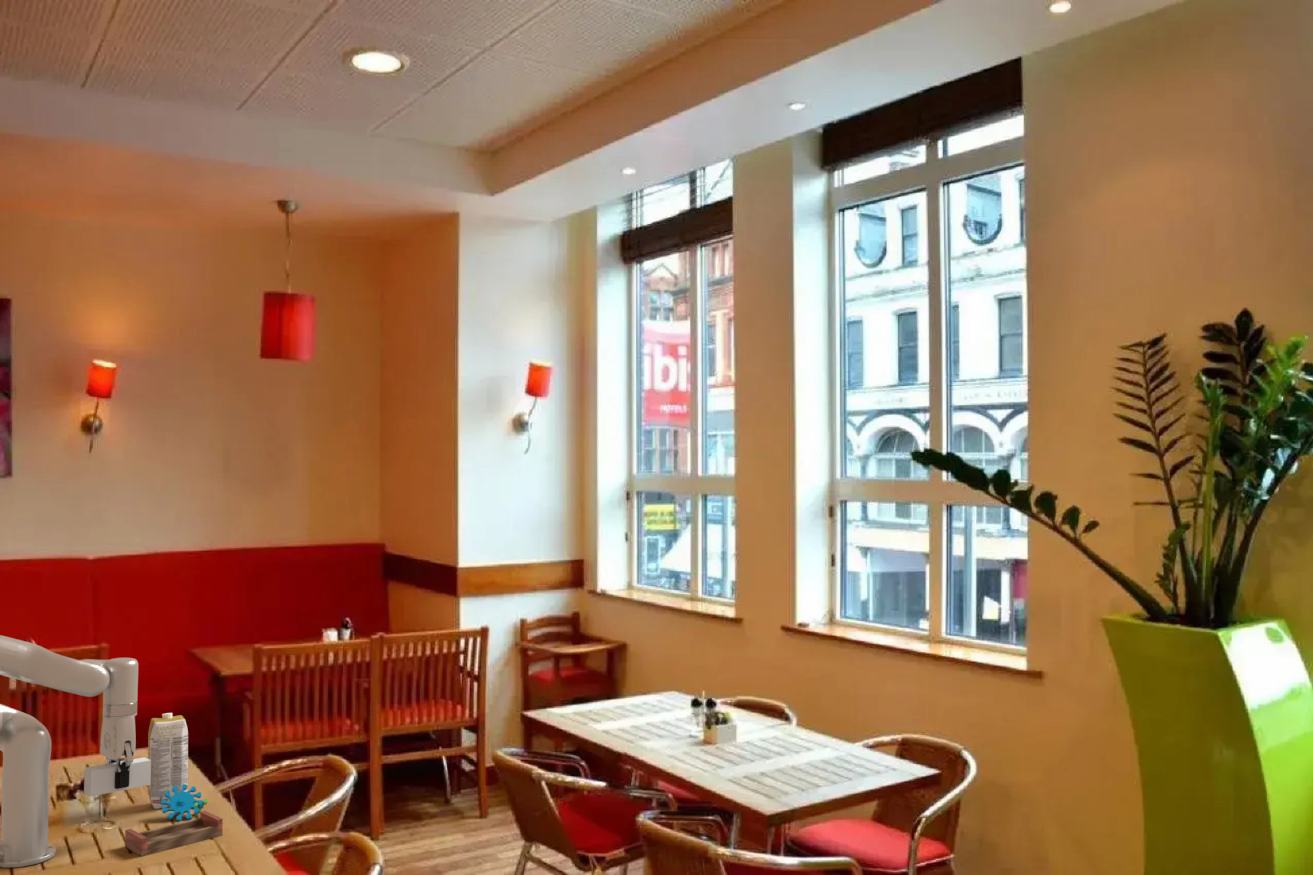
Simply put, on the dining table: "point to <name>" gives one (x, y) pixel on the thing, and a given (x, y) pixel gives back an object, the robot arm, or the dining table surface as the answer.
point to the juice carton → (167, 757)
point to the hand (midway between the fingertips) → (117, 785)
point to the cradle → (174, 834)
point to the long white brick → (104, 777)
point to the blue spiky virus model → (183, 802)
